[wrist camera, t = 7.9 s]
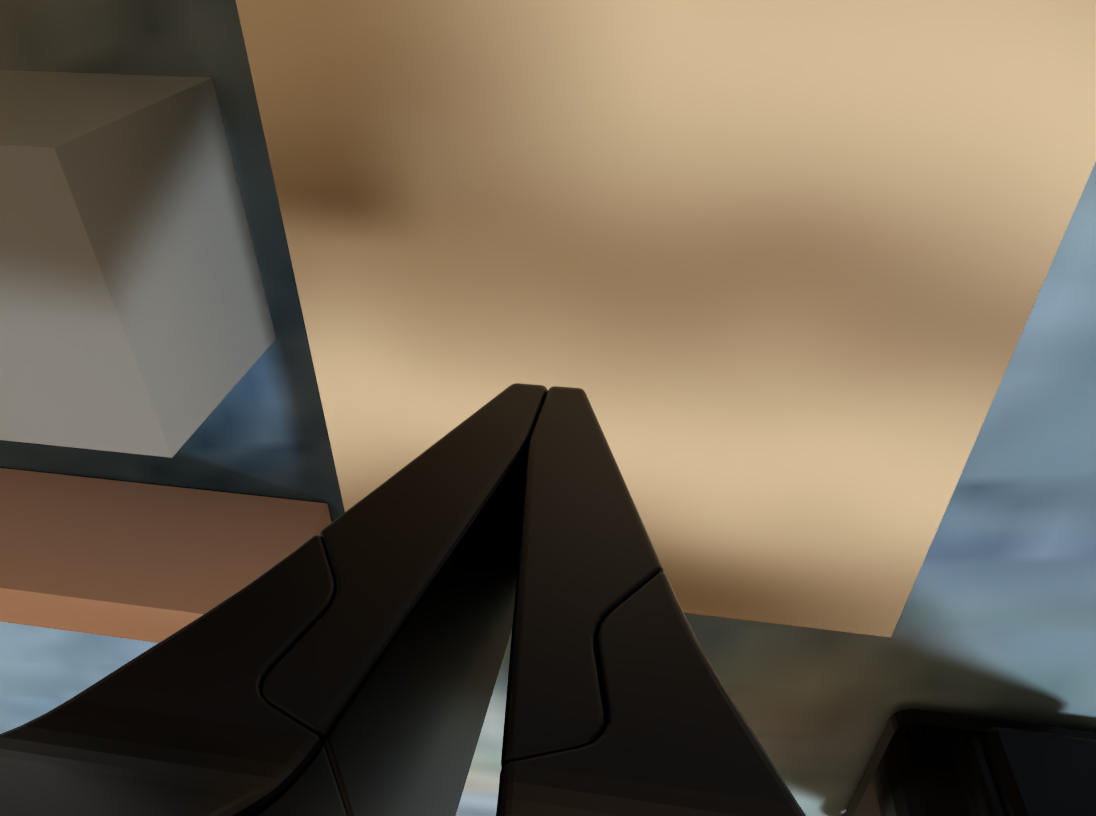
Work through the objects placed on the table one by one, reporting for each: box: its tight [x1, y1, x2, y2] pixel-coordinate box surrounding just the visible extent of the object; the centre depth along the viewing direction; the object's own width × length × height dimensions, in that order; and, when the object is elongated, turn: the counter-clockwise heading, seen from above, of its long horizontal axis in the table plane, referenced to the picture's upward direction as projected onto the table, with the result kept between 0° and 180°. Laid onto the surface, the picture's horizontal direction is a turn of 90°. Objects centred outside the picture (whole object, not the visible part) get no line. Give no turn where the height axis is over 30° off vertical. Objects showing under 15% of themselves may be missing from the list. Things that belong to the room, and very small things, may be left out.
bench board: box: [236, 0, 1096, 637], centre depth 12 cm, size 14×11×2 cm
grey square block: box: [0, 70, 276, 458], centre depth 13 cm, size 5×5×4 cm
